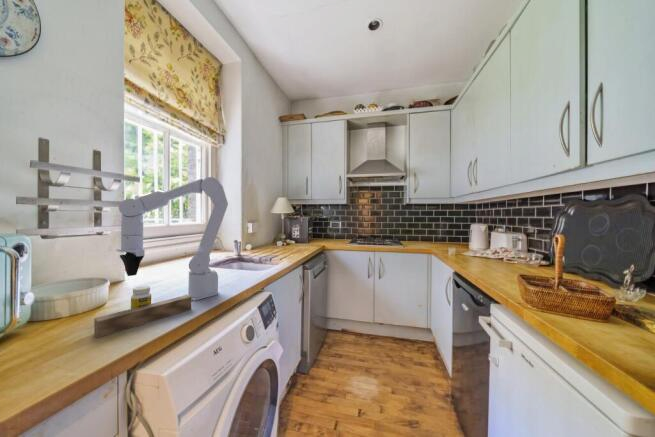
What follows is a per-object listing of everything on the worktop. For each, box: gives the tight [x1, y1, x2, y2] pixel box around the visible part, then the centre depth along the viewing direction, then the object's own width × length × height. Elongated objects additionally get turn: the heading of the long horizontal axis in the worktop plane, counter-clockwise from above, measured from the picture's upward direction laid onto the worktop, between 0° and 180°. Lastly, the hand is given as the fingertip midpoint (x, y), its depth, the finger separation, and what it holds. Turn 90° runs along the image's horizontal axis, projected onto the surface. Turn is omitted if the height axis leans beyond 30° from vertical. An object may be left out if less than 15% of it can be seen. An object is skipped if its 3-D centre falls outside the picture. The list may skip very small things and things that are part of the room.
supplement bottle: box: [130, 285, 152, 309], centre depth 70 cm, size 5×5×8 cm
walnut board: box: [93, 294, 192, 339], centre depth 67 cm, size 22×3×4 cm, turn 147°
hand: (131, 275), depth 80 cm, fingers closed
